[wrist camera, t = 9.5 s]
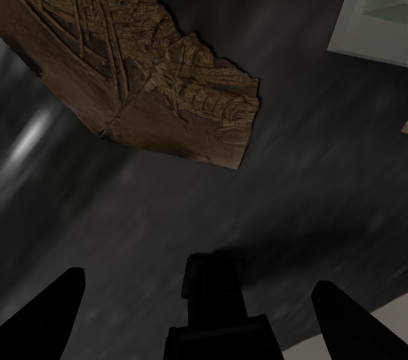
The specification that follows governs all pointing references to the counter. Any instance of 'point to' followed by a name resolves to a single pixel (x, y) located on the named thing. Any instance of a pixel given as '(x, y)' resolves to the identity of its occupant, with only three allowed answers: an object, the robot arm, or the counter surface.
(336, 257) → the counter surface
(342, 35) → the fulcrum board
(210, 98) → the fossil slab
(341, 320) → the robot arm
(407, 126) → the beech bar
